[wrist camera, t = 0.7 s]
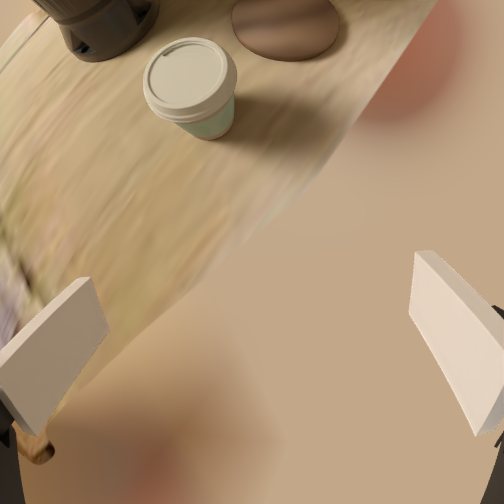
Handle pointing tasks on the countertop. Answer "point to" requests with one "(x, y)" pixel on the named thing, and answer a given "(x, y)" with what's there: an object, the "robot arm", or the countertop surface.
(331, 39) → the walnut trivet
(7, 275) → the countertop surface
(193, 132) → the coffee cup
